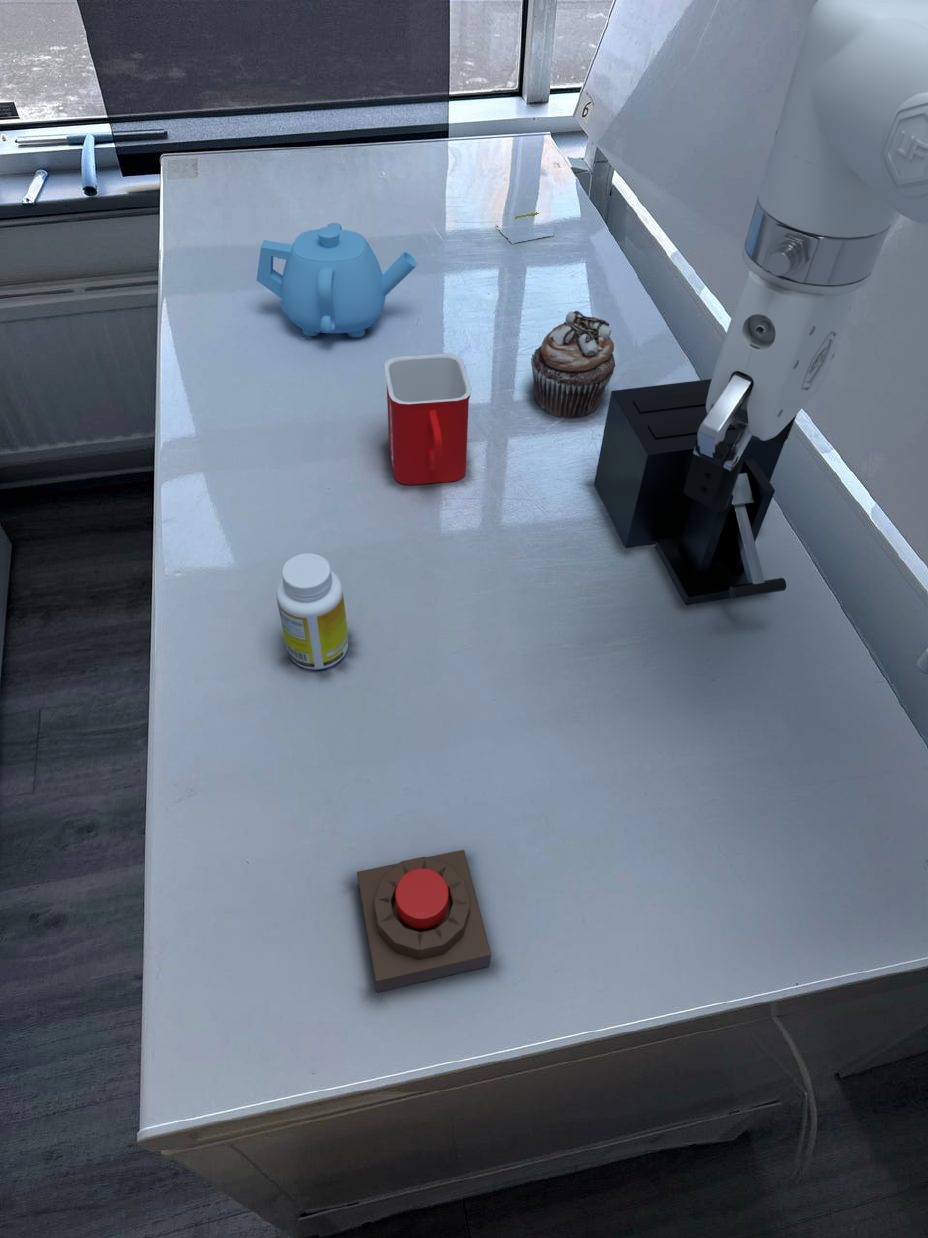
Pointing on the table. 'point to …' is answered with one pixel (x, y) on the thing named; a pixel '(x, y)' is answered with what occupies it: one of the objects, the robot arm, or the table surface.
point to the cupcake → (573, 366)
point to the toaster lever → (748, 546)
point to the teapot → (330, 280)
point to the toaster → (659, 458)
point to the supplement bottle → (312, 612)
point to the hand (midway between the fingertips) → (736, 466)
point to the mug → (427, 417)
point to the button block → (422, 951)
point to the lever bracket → (714, 544)
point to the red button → (421, 898)
